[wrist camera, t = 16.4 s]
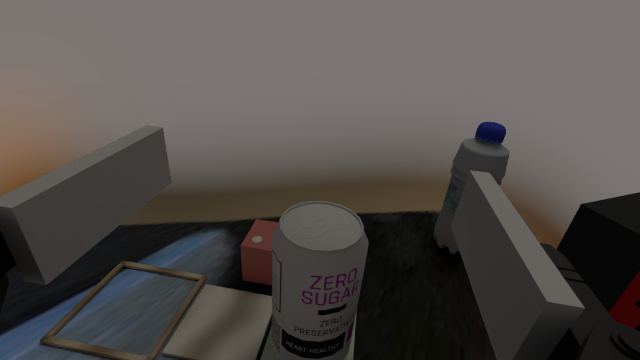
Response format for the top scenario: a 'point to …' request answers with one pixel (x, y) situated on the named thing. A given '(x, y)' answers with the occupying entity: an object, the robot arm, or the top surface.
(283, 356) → the supplement can
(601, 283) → the cleaning product box
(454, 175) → the bottle
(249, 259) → the red die
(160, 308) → the top surface
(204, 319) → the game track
